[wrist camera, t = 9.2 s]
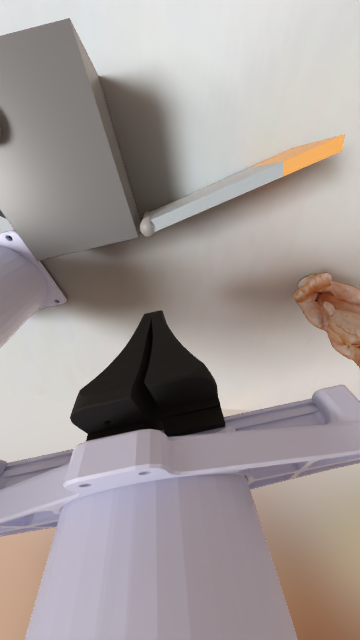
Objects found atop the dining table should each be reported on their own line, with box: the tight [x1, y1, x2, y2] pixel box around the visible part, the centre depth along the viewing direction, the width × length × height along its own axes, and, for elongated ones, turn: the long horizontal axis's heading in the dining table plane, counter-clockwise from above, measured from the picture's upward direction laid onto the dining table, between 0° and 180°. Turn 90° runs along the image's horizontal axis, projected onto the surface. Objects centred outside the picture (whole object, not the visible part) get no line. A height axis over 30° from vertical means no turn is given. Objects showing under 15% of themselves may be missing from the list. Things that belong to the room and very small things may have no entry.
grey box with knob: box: [0, 18, 141, 261], centre depth 12 cm, size 9×9×6 cm
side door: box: [140, 134, 345, 237], centre depth 14 cm, size 1×14×5 cm, turn 110°
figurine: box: [294, 273, 360, 367], centre depth 18 cm, size 6×8×15 cm
